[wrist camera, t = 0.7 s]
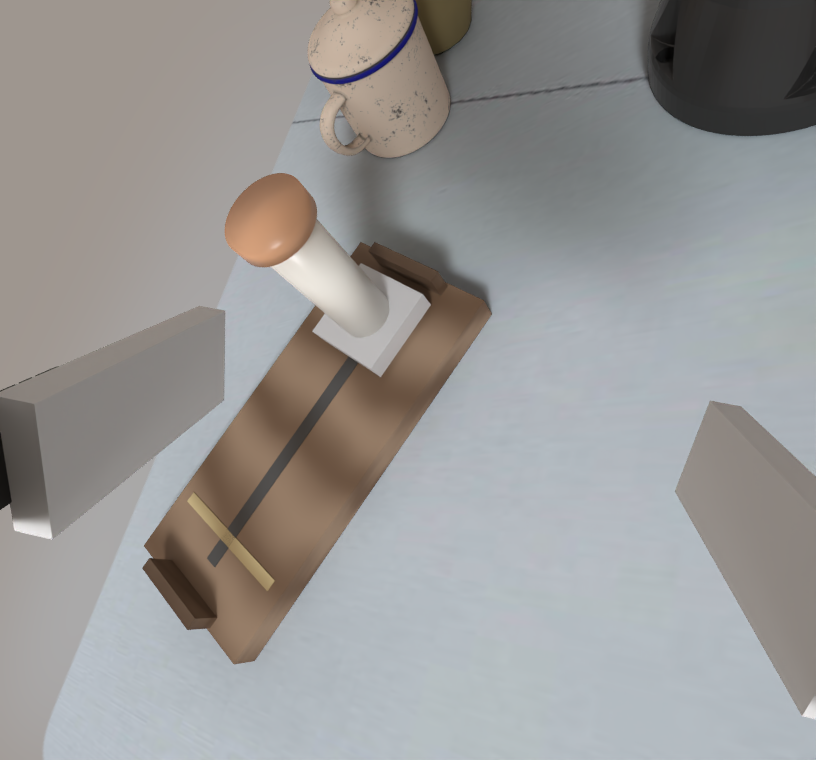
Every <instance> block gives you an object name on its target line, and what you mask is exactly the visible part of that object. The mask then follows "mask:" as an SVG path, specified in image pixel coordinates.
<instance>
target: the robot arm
mask: <svg viewBox="0 0 816 760" xmlns="http://www.w3.org/2000/svg"><path fill="white" fill-rule="evenodd" d="M648 75H649V82H650V86H651V89H652V91H653V93H654V95H655V97H656V99H657V100H658V101H659V103H660V104H661V105H662V106H663V107H664V109H665V110H667V111H668V112H669V113H670V114H671V115H673V116H674V117H676V118H677V119H679V120H680V121H682V122H684V123H686V124H688V125H691V126H693V127H696V128H699V129H702V130H705V131H709V132H713V133H719V134H726V135H736V136H760V135H771V134H779V133H785V132H790V131H795V130H799V129H803V128H807V127H810V126H814V125H816V0H661V2H660V4H659V7H658V10H657V13H656V16H655V18H654V21H653V24H652V27H651V32H650V37H649V44H648ZM224 369H225V311H223V310H218V309H213V308H207V307H202V306H198V307H196V308H194V309H191V310H189V311H187V312H184V313H182V314H180V315H177V316H175V317H173V318H171V319H168V320H166V321H163V322H161V323H159V324H157V325H154V326H152V327H150V328H147V329H145V330H143V331H140V332H138V333H136V334H133V335H131V336H129V337H126V338H124V339H122V340H119V341H117V342H115V343H112V344H110V345H108V346H105V347H103V348H101V349H98V350H96V351H94V352H91V353H89V354H87V355H84V356H82V357H80V358H77V359H75V360H73V361H71V362H68V363H66V364H63V365H61V366H58V367H55V368H52V369H50V370H47V371H45V372H43V373H41V374H38V375H36V376H35V377H33V378H32V377H31V378H29V379H26V380H24V381H22V382H19V384H17V385H12V386H10V387H8V388H6V389H3V390H1V391H0V510H1V509H2V508H4V507H5V506H7V505H8V504H10V507H11V513H12V519H13V525H14V530H15V531H18V532H22V533H27V534H31V535H36V536H40V537H44V538H48V539H54V538H55V537H56V536H57V535H58V534H60V533H61V532H62V531H64V530H65V529H66V528H67V527H68V526H70V525H71V524H72V523H73V522H75V521H76V520H77V519H78V518H80V517H81V516H82V515H83V514H84V513H86V512H87V511H88V510H89V509H91V508H92V507H93V506H94V505H95V504H96V503H98V502H99V501H100V500H102V499H103V498H104V497H105V496H107V495H108V494H109V493H110V492H112V491H113V490H114V489H115V488H116V487H118V486H119V485H120V484H121V483H122V482H124V481H125V480H126V479H127V478H129V477H130V476H131V475H132V474H133V473H135V472H136V471H137V470H139V469H140V468H141V467H142V466H143V465H145V464H146V463H147V462H148V461H150V460H151V459H152V458H153V457H155V456H156V455H157V454H158V453H160V452H161V451H162V450H163V449H165V448H166V447H167V446H168V445H169V444H171V443H172V442H173V441H174V440H176V439H177V438H178V437H179V436H181V435H182V434H183V433H184V432H185V431H187V430H188V429H189V428H190V427H192V426H193V425H194V424H195V423H197V422H198V421H199V420H200V419H201V418H203V417H204V416H205V415H206V414H208V413H209V412H210V411H211V410H213V409H214V408H215V407H216V406H217V405H219V404H220V403H221V402H222V401H224ZM675 492H676V494H677V496H678V498H679V499H680V501H681V503H682V505H683V506H684V508H685V510H686V512H687V513H688V515H689V517H690V519H691V521H692V522H693V524H694V526H695V528H696V529H697V531H698V533H699V535H700V536H701V538H702V540H703V542H704V544H705V545H706V547H707V549H708V551H709V552H710V554H711V556H712V558H713V559H714V561H715V563H716V565H717V567H718V568H719V570H720V572H721V574H722V575H723V577H724V579H725V581H726V582H727V584H728V586H729V588H730V589H731V591H732V593H733V595H734V597H735V598H736V600H737V602H738V604H739V605H740V607H741V609H742V611H743V612H744V614H745V616H746V618H747V620H748V621H749V623H750V625H751V627H752V628H753V630H754V632H755V634H756V635H757V637H758V639H759V641H760V643H761V644H762V646H763V648H764V650H765V651H766V653H767V655H768V657H769V658H770V660H771V662H772V664H773V666H774V667H775V669H776V671H777V673H778V674H779V676H780V678H781V680H782V681H783V683H784V685H785V687H786V688H787V690H788V692H789V694H790V696H791V697H792V699H793V701H794V703H795V704H796V706H797V708H798V710H799V711H800V713H801V715H802V716H804V717H808V718H813V719H816V476H815V475H813V474H812V473H811V472H810V471H809V470H808V469H807V468H806V467H805V466H804V465H803V464H802V463H801V462H800V461H799V460H797V459H796V458H795V457H794V456H793V455H792V454H791V453H790V452H789V451H788V450H787V449H786V448H785V447H784V446H783V445H781V444H780V443H779V442H778V441H777V440H776V439H775V438H774V437H773V436H772V435H771V434H770V433H769V432H768V431H767V430H766V429H764V428H763V427H762V426H761V425H760V424H759V423H758V422H757V421H756V420H755V419H754V418H753V417H752V416H751V415H750V414H748V413H747V412H746V411H745V410H744V409H743V408H742V407H741V406H736V405H730V404H725V403H719V402H714V401H710V402H709V405H708V407H707V410H706V413H705V415H704V418H703V420H702V423H701V425H700V428H699V431H698V433H697V436H696V438H695V441H694V443H693V446H692V449H691V451H690V454H689V456H688V459H687V461H686V464H685V467H684V469H683V472H682V474H681V477H680V479H679V482H678V485H677V487H676V490H675Z"/></svg>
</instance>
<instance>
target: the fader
mask: <svg viewBox="0 0 816 760" xmlns="http://www.w3.org/2000/svg"><path fill="white" fill-rule="evenodd" d="M316 218H317V207H316V203H315V201H314V199H313V197H312V196H311V195H310V194H309V192H308V191H307V190H306V189H305V188H304V186H303V185H302V184H301V183H300V182H299V181H298V179H296V178H295V177H294V176H292V175H289V174H285V173H277V174H272V175H268V176H266V177H263V178H261V179H259V180H257V181H256V182H254V183H253V184H252V185H250V186H249V187H248V188H247V189H246V190H244V191H243V193H242V194H241V195H240V196H239V197H238V198H237V200H236V201H235V202H234V204H233V206H232V207H231V209H230V211H229V214H228V216H227V219H226V224H225V237H226V241H227V243H228V245H229V246H230V247H231V249H233V250H234V251H235V252H236V253H237V254H239V255H240V256H241V257H242V258H243V259H245V260H246V261H247V262H248V263H250V264H251V265H254V266H257V267H272V268H273V269H274V270H275V271H276V272H277V273H279V274H280V275H281V276H282V277H283V278H284V279H286V280H287V281H288V282H289V283H290V284H291V285H293V286H294V287H295V288H296V289H297V290H298V291H300V292H301V293H302V294H303V295H304V296H305V297H306V298H308V299H309V300H310V301H311V302H312V303H313V304H315V305H316V306H317V307H318V308H319V309H320V310H322V311H323V312H324V313H325V314H324V315H323V317H322V318H321V320H320V321H319V323H318V324H317V325H316V327H315V328H314V330H313V331H312V332H314V333H315V334H316V335H318V336H319V337H320V338H321V339H323V340H324V341H326V342H327V343H329V344H330V345H332V346H333V347H335V348H336V349H338V350H340V351H341V352H343V353H344V354H346V355H347V356H349V357H350V358H352V359H353V360H355V361H357V362H358V363H360V364H361V365H363V366H364V367H366V368H367V369H369V370H370V371H372V372H373V373H375V374H377V375H378V376H380V377H381V376H382V375H383V373H384V372H385V370H386V369H387V367H388V366H389V365H390V363H391V362H392V360H393V359H394V357H395V356H396V354H397V353H398V352H399V350H400V349H401V347H402V346H403V344H404V343H405V342H406V340H407V339H408V337H409V336H410V334H411V333H412V331H413V330H414V329H415V327H416V326H417V324H418V323H419V321H420V320H421V319H422V317H423V316H424V314H425V313H426V311H427V310H428V308H429V307H430V306H431V304H430V303H429V302H428V300H427V299H426V298H425V296H424V295H423V294H421V293H419V292H417V291H415V290H413V289H411V288H409V287H407V286H405V285H403V284H401V283H400V282H398V281H396V280H394V279H392V278H390V277H388V276H386V275H384V274H382V273H380V272H378V271H376V270H374V269H372V268H370V267H368V266H366V265H364V264H362V263H361V264H360V265H359V266H358V265H357V264H356V263H355V261H354V260H353V259H352V258H351V257H350V256H349V255H348V254H347V252H346V251H345V250H344V249H343V248H342V247H341V246H340V245H339V243H338V242H337V241H336V240H335V239H334V238H333V237H332V236H331V235H330V233H329V232H328V231H327V230H326V229H325V228H324V227H323V226H322V224H321V223H320V222H319V221H318V220H317V219H316Z"/></svg>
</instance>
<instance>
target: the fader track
mask: <svg viewBox="0 0 816 760" xmlns="http://www.w3.org/2000/svg"><path fill="white" fill-rule="evenodd" d="M351 258H352V259H353V260H354V261H355V263H356V264H357V265H358V266H359V265H360V264H361V263H362V264H364V265H366V266H368V267H370V268H372V269H374V270H376V271H378V272H380V273H382V274H384V275H386V276H388V277H390V278H392V279H394V280H396V281H398V282H400V283H401V284H403V285H405V286H407V287H409V288H411V289H413V290H415V291H417V292H419V293H421V294H423V295H424V296H425V298H426V299H427V300H428V302H429V303H430V304H431V306H430V307H429V308H428V310H427V311H426V313H425V314H424V316H423V317H422V319H421V320H420V321H419V323H418V324H417V326H416V327H415V329H414V330H413V331H412V333H411V334H410V336H409V337H408V339H407V340H406V342H405V343H404V344H403V346H402V347H401V349H400V350H399V352H398V353H397V354H396V356H395V357H394V359H393V360H392V362H391V363H390V365H389V366H388V367H387V369H386V370H385V372H384V373H383V375H382V376H381V377H380V376H378V375H377V374H375V373H373V372H372V371H370V370H369V369H367V368H366V367H364V366H363V365H361V364H360V363H358V362H357V361H355V360H353V359H352V358H350V357H349V356H347V355H346V354H344V353H343V352H341V351H340V350H338V349H336V348H335V347H333V346H332V345H330V344H329V343H327V342H326V341H324V340H323V339H321V338H320V337H319V336H318V335H316V334H315V333H314V332H312V331H313V330H314V328H315V327H316V325H317V324H318V323H319V321H320V320H321V318H322V317H323V315H324V314H325V313H324V312H323V311H322V310H320V309H319V308H318V307H317V306H315V307H314V308H313V310H312V311H311V313H310V314H309V315H308V317H307V318H306V320H305V321H304V322H303V324H302V325H301V327H300V328H299V329H298V331H297V332H296V334H295V335H294V336H293V338H292V339H291V341H290V342H289V343H288V345H287V346H286V348H285V349H284V350H283V352H282V353H281V354H280V356H279V357H278V359H277V360H276V361H275V363H274V364H273V366H272V367H271V368H270V370H269V371H268V373H267V374H266V375H265V377H264V378H263V380H262V381H261V382H260V384H259V385H258V387H257V388H256V389H255V391H254V392H253V394H252V395H251V396H250V398H249V399H248V401H247V402H246V403H245V405H244V406H243V408H242V409H241V410H240V412H239V413H238V415H237V416H236V417H235V419H234V420H233V422H232V423H231V424H230V426H229V427H228V429H227V430H226V431H225V433H224V434H223V436H222V437H221V438H220V440H219V441H218V443H217V444H216V445H215V447H214V448H213V450H212V451H211V452H210V454H209V455H208V457H207V458H206V459H205V461H204V462H203V464H202V465H201V466H200V468H199V469H198V471H197V472H196V473H195V475H194V476H193V478H192V479H191V480H190V482H189V483H188V485H187V486H186V487H185V489H184V490H183V492H182V493H181V494H180V496H179V497H178V499H177V500H176V501H175V503H174V504H173V506H172V507H171V508H170V510H169V511H168V513H167V514H166V515H165V517H164V518H163V520H162V521H161V522H160V524H159V525H158V527H157V528H156V529H155V531H154V532H153V534H152V535H151V536H150V538H149V539H148V541H147V542H146V543H145V545H144V547H145V548H146V549H147V551H148V552H149V553H150V555H151V556H152V557H153V558H149V559H148V561H147V562H146V564H145V565H144V566H143V570H144V571H145V573H146V574H147V575H148V577H149V578H150V579H151V581H152V582H153V583H154V585H155V586H156V588H157V589H158V590H159V592H160V593H161V594H162V596H163V597H164V599H165V600H166V601H167V603H168V604H169V605H170V607H171V608H172V609H173V611H174V612H175V614H176V615H177V616H178V618H179V619H180V620H181V622H182V623H183V624H184V626H185V627H186V629H187V630H191V629H205V628H207V630H208V631H209V632H210V634H211V635H212V636H213V637H214V639H215V640H216V641H217V643H218V644H219V645H220V647H221V648H222V649H223V651H224V652H225V653H226V655H227V656H228V657H229V659H230V660H231V661H232V662H233V664H239V663H245V662H251V661H255V659H256V658H257V656H258V655H259V654H260V652H261V651H262V649H263V648H264V646H265V645H266V643H267V642H268V640H269V639H270V638H271V636H272V635H273V633H274V632H275V630H276V629H277V627H278V626H279V624H280V623H281V621H282V620H283V619H284V617H285V616H286V614H287V613H288V611H289V610H290V608H291V607H292V605H293V604H294V602H295V601H296V600H297V598H298V597H299V595H300V594H301V592H302V591H303V589H304V588H305V586H306V585H307V583H308V582H309V581H310V579H311V578H312V576H313V575H314V573H315V572H316V570H317V569H318V567H319V566H320V564H321V563H322V562H323V560H324V559H325V557H326V556H327V554H328V553H329V551H330V550H331V548H332V547H333V546H334V544H335V543H336V541H337V540H338V538H339V537H340V535H341V534H342V532H343V531H344V529H345V528H346V527H347V525H348V524H349V522H350V521H351V519H352V518H353V516H354V515H355V513H356V512H357V510H358V509H359V508H360V506H361V505H362V503H363V502H364V500H365V499H366V497H367V496H368V494H369V493H370V491H371V490H372V489H373V487H374V486H375V484H376V483H377V481H378V480H379V478H380V477H381V475H382V474H383V473H384V471H385V470H386V468H387V467H388V465H389V464H390V462H391V461H392V459H393V458H394V456H395V455H396V454H397V452H398V451H399V449H400V448H401V446H402V445H403V443H404V442H405V440H406V439H407V437H408V436H409V435H410V433H411V432H412V430H413V429H414V427H415V426H416V424H417V423H418V421H419V420H420V418H421V417H422V416H423V414H424V413H425V411H426V410H427V408H428V407H429V405H430V404H431V402H432V401H433V399H434V398H435V397H436V395H437V394H438V392H439V391H440V389H441V388H442V386H443V385H444V383H445V382H446V381H447V379H448V378H449V376H450V375H451V373H452V372H453V370H454V369H455V367H456V366H457V364H458V363H459V362H460V360H461V359H462V357H463V356H464V354H465V353H466V351H467V350H468V348H469V347H470V345H471V344H472V343H473V341H474V340H475V338H476V337H477V335H478V334H479V332H480V331H481V329H482V328H483V326H484V325H485V324H486V322H487V321H488V319H489V318H490V316H491V315H492V314H491V312H490V310H489V308H488V307H487V305H486V303H485V301H484V300H482V299H480V298H478V297H475V296H473V295H471V294H469V293H467V292H465V291H463V290H461V289H459V288H457V287H454V286H452V285H450V284H448V283H446V282H444V280H443V279H442V277H441V275H440V274H439V272H438V271H436V270H434V269H432V268H429V267H427V266H425V265H423V264H421V263H419V262H416V261H414V260H412V259H410V258H408V257H406V256H404V255H401V254H399V253H397V252H395V251H393V250H391V249H389V248H386V247H384V246H382V245H380V244H378V243H376V242H374V244H373V245H372V246H371V247H370V246H368V245H366V244H364V243H362V242H361V243H360V244H359V245H358V247H357V248H356V250H355V251H354V252H353V254H352V255H351Z"/></svg>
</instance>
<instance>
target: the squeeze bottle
mask: <svg viewBox="0 0 816 760" xmlns="http://www.w3.org/2000/svg"><path fill="white" fill-rule="evenodd" d="M415 1H416V3H417V7H418V17H419V20H420V22H421V25H422V27H423V30H424V32H425V35H426V37H427V40H428V42H429V44H430V47H431V49H432V52H433V54H439V53H441V52H443V51H445V50H447V49H450V48H451V47H452V46H454V45H455V44H456V43H457V42H459V41H460V40H461V39H462V37H463V36H464V35H465V33H466V32H467V31H468V29H469V25H470V22H471V1H472V0H415Z"/></svg>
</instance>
